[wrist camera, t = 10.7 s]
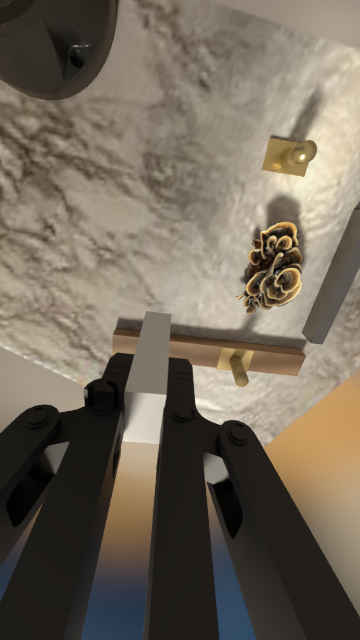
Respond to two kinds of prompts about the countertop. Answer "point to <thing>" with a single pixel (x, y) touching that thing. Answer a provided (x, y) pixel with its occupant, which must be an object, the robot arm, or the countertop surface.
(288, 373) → the beam plank
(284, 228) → the mushroom
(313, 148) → the near post
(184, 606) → the robot arm
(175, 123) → the countertop surface
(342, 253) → the end stop
